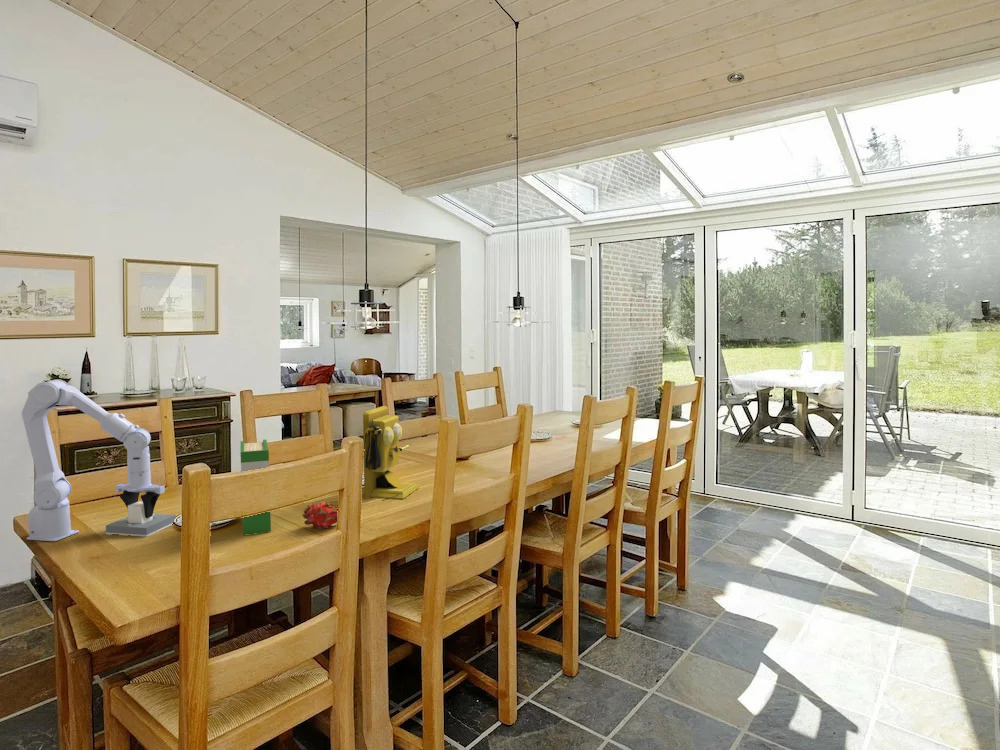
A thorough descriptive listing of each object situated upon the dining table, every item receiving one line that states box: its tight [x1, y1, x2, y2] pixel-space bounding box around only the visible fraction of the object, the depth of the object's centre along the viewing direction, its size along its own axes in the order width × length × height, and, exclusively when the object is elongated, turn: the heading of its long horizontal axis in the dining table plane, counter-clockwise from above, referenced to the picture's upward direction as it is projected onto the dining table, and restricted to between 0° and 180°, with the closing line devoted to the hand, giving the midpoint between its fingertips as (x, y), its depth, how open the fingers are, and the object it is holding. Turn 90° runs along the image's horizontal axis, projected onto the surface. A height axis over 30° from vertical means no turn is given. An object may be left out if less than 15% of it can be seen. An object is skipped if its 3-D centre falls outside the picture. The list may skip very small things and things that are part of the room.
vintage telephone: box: [362, 405, 420, 502], centre depth 216 cm, size 31×14×30 cm, turn 167°
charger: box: [127, 500, 153, 524], centre depth 178 cm, size 4×4×6 cm
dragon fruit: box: [302, 500, 338, 530], centre depth 180 cm, size 8×8×12 cm
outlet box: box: [105, 513, 177, 538], centre depth 179 cm, size 13×12×3 cm
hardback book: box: [239, 439, 272, 536], centre depth 182 cm, size 18×7×24 cm, turn 23°
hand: (141, 516), depth 179 cm, fingers closed on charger, 4 cm apart
